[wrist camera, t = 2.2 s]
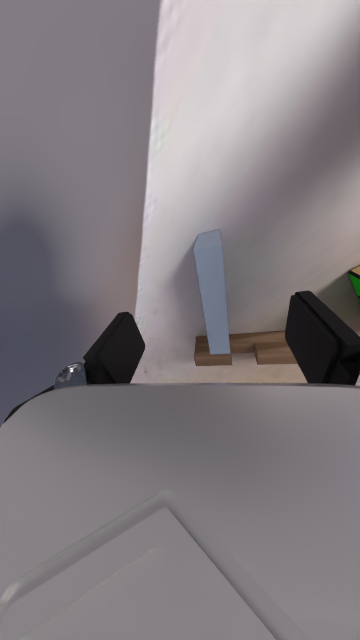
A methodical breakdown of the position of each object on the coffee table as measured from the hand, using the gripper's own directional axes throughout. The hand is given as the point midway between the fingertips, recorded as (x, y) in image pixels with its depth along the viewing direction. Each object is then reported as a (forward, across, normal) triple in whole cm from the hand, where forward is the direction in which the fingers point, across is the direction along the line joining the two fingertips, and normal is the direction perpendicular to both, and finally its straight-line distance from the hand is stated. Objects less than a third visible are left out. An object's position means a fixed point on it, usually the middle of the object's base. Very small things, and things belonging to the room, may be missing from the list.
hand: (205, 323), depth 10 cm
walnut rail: (+20, -4, +19) cm, 28 cm away
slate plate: (+20, 0, +6) cm, 21 cm away
